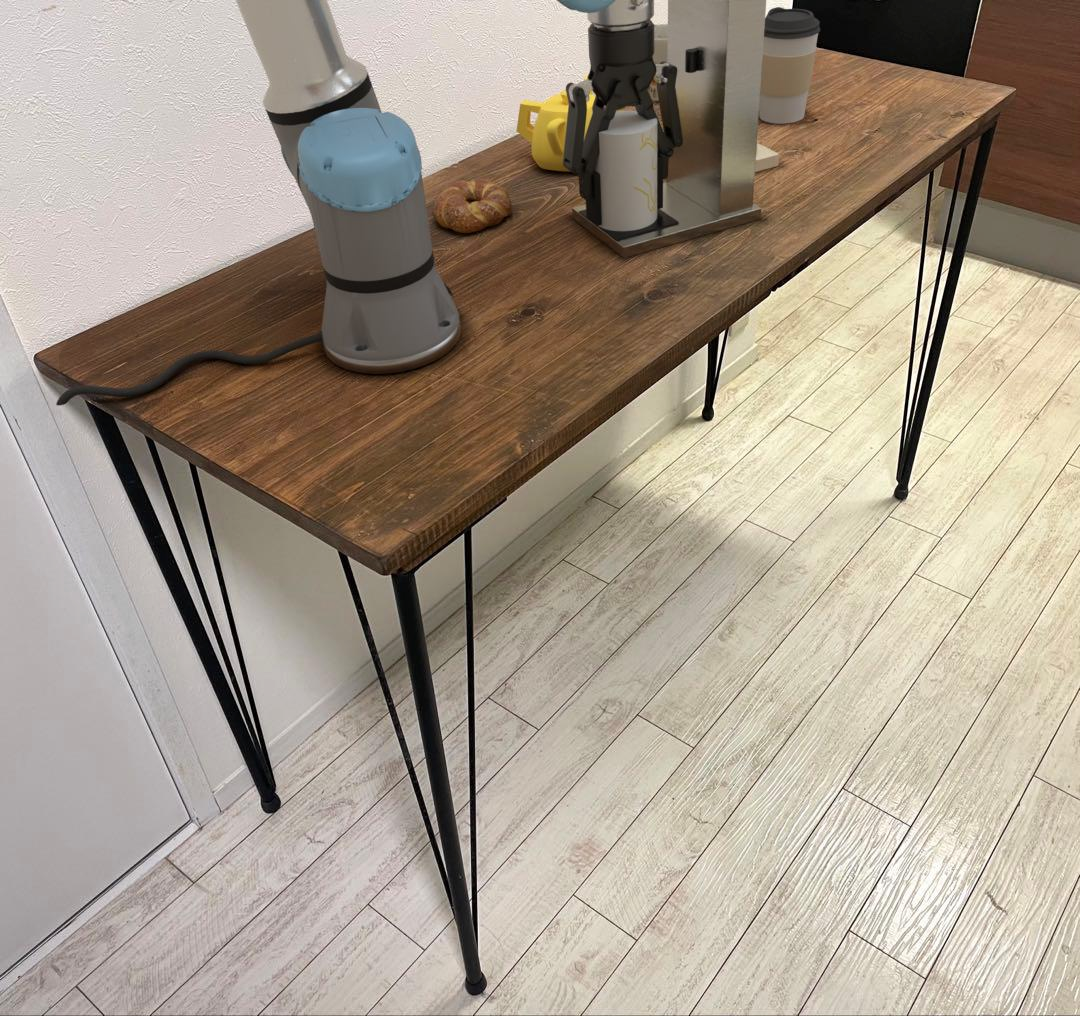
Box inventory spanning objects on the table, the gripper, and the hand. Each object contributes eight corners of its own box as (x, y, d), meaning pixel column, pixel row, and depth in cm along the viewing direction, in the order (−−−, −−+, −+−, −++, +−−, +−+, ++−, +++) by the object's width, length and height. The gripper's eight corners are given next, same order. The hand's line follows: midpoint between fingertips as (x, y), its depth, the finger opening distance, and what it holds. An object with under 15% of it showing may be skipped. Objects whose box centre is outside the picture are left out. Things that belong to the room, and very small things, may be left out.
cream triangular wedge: (718, 182, 140) (719, 157, 138) (687, 164, 146) (687, 139, 144) (778, 165, 143) (780, 141, 141) (746, 148, 149) (747, 124, 147)
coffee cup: (824, 115, 157) (835, 10, 147) (781, 130, 153) (789, 24, 144) (782, 101, 163) (790, 0, 153) (739, 116, 159) (745, 12, 150)
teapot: (635, 165, 147) (634, 94, 141) (550, 185, 144) (546, 114, 137) (594, 136, 157) (591, 69, 151) (513, 154, 154) (507, 86, 147)
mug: (631, 90, 172) (631, 27, 166) (704, 82, 173) (707, 19, 166) (640, 106, 166) (640, 41, 160) (716, 98, 166) (719, 33, 160)
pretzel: (500, 237, 132) (498, 210, 129) (420, 235, 134) (416, 208, 132) (522, 199, 141) (520, 173, 138) (447, 197, 143) (443, 171, 140)
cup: (653, 231, 126) (653, 134, 118) (588, 230, 128) (584, 134, 120) (660, 204, 132) (660, 110, 124) (598, 203, 134) (595, 110, 126)
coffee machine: (623, 258, 125) (619, 0, 106) (572, 218, 135) (559, -24, 116) (760, 219, 131) (778, -32, 112) (701, 183, 141) (709, -53, 122)
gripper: (552, 47, 109) (564, 244, 124) (718, 11, 115) (711, 203, 130) (523, 32, 115) (537, 222, 129) (683, -2, 121) (680, 184, 135)
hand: (624, 213), depth 129 cm, fingers closed on cup, 8 cm apart
